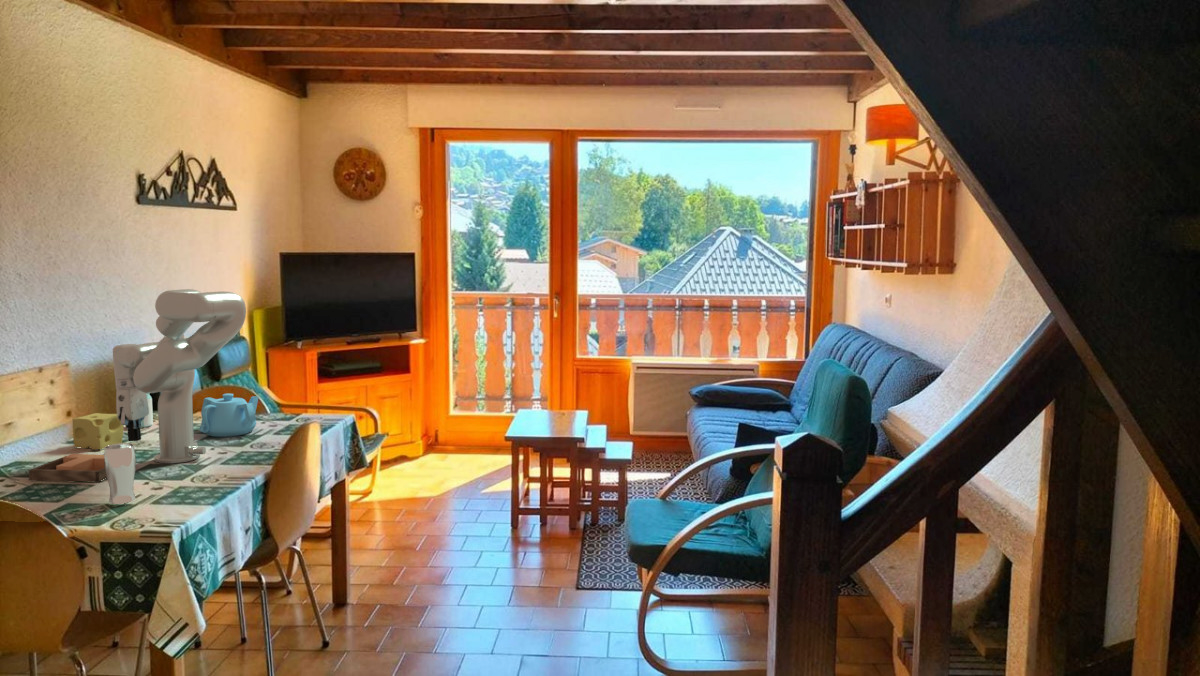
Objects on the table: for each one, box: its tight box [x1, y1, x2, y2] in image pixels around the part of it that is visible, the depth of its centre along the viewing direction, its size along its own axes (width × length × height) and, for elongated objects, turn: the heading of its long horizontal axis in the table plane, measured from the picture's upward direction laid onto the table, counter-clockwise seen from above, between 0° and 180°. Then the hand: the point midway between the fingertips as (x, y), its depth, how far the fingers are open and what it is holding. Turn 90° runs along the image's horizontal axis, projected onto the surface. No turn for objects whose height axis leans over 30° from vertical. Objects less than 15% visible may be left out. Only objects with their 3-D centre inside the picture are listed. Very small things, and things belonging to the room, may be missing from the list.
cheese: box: [72, 412, 124, 450], centre depth 270 cm, size 10×11×10 cm
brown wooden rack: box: [28, 455, 107, 482], centre depth 238 cm, size 20×16×3 cm
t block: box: [56, 453, 105, 471], centre depth 238 cm, size 14×13×4 cm
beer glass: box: [103, 442, 137, 505], centre depth 212 cm, size 7×7×15 cm
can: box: [139, 393, 154, 429], centre depth 298 cm, size 7×7×12 cm
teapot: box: [199, 393, 259, 438], centre depth 291 cm, size 19×19×14 cm
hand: (134, 440), depth 261 cm, fingers closed
